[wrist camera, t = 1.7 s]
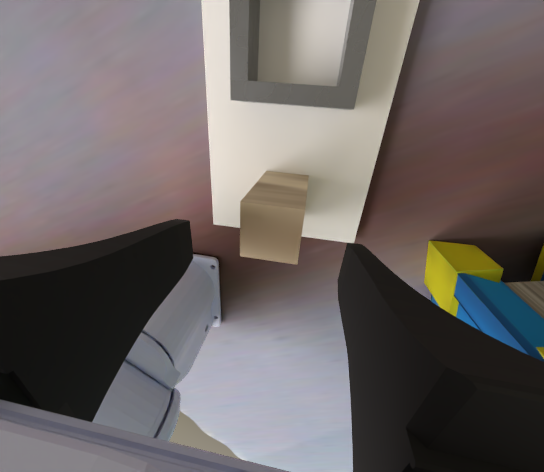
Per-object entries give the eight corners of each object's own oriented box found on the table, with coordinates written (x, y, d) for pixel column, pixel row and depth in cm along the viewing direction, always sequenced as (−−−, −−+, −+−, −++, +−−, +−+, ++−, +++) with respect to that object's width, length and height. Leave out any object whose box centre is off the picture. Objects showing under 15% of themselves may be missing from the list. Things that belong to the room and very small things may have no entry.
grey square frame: (348, 109, 15) (354, 109, 13) (242, 101, 16) (230, 100, 14) (379, -50, 12) (394, -87, 10) (243, -50, 12) (228, -84, 10)
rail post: (303, 215, 19) (297, 264, 13) (263, 210, 19) (240, 256, 13) (308, 175, 17) (305, 209, 11) (266, 170, 18) (240, 201, 12)
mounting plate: (352, 237, 20) (353, 243, 19) (217, 219, 21) (213, 224, 21) (428, -52, 12) (437, -65, 11) (205, -52, 13) (198, -64, 13)
